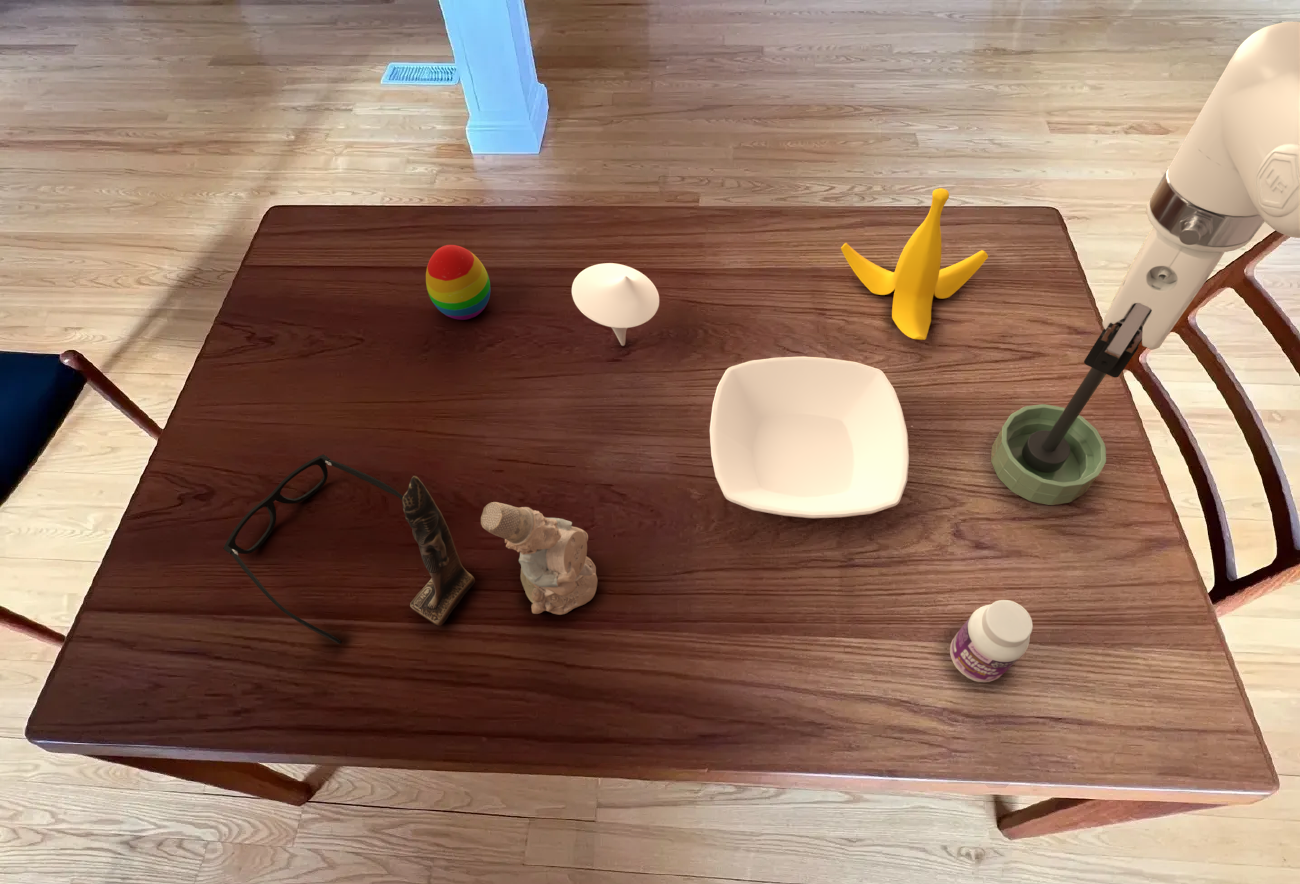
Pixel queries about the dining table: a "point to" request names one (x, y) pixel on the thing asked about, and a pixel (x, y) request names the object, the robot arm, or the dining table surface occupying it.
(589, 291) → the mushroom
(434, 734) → the dining table surface
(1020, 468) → the green round dish
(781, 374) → the bowl
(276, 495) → the glasses
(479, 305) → the decorative egg
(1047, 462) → the disc-footed rod
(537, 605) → the figurine
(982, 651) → the pill bottle
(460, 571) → the statue
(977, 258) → the banana peel
